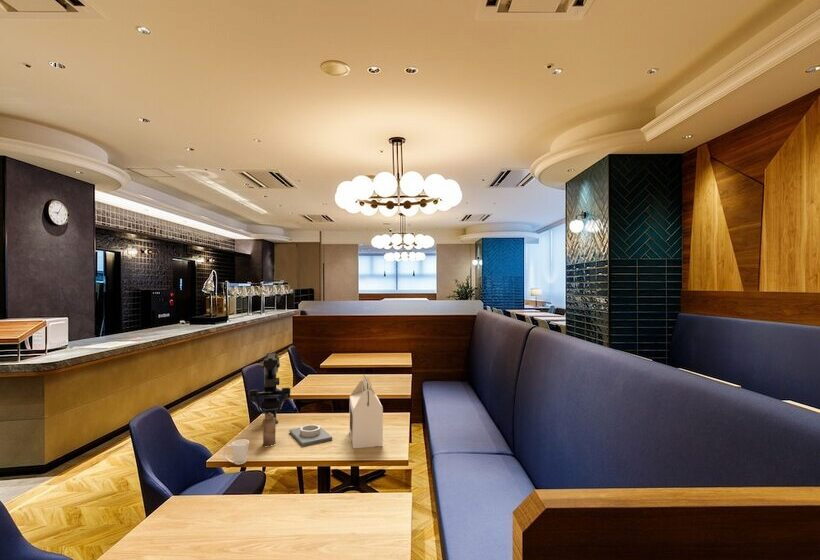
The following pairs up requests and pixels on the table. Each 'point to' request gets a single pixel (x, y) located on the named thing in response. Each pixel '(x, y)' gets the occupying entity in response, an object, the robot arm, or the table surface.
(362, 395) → the gable box
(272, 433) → the pepper mill
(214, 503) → the table surface
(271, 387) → the robot arm
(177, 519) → the table surface
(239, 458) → the cup
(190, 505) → the table surface
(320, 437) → the caddy board
